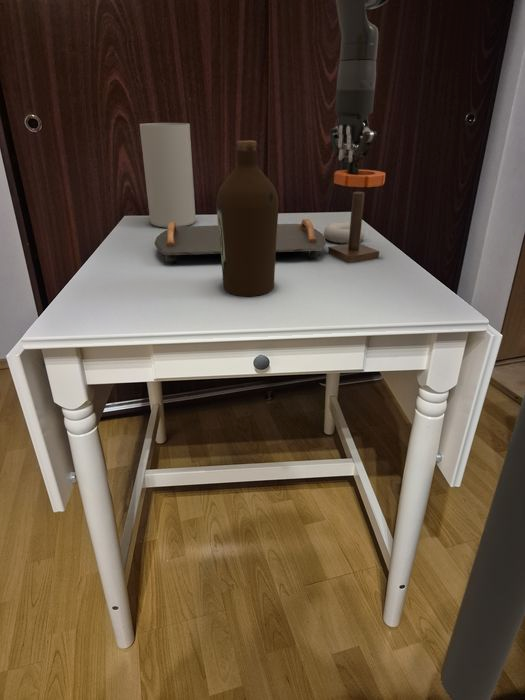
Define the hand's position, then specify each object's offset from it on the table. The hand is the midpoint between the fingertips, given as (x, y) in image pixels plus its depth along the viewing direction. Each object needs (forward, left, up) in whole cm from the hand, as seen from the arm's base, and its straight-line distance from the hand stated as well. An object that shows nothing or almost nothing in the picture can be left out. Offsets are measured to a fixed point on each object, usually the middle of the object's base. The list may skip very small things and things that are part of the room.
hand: (348, 179), depth 103 cm
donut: (+8, -6, -16) cm, 19 cm away
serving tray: (+12, +20, -16) cm, 28 cm away
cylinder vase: (+44, +26, -16) cm, 53 cm away
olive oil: (-11, +29, -16) cm, 35 cm away
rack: (-4, 0, -16) cm, 16 cm away
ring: (-4, 0, 0) cm, 4 cm away
